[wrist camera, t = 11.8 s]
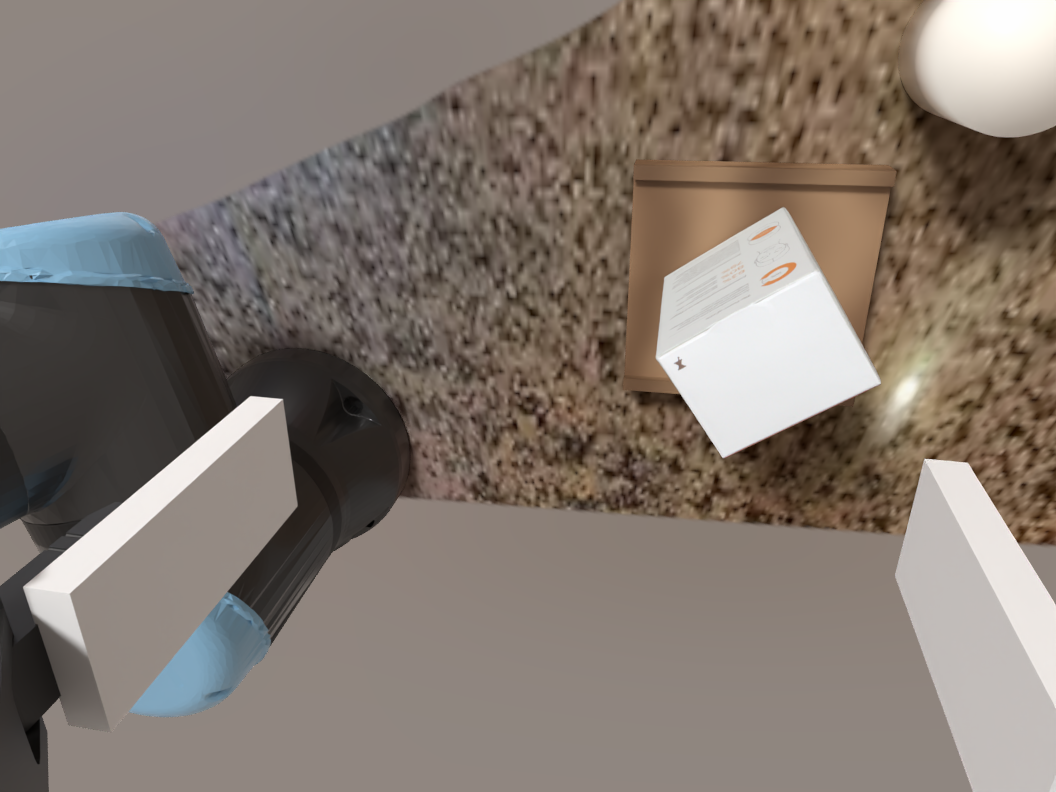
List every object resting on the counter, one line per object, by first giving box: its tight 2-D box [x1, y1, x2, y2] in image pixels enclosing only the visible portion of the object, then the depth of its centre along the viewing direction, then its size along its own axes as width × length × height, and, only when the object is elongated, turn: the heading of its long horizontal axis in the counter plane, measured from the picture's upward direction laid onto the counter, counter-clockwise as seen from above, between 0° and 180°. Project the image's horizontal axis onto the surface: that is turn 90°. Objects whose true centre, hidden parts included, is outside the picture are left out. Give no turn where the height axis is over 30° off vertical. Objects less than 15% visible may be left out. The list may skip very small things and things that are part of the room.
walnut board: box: [623, 160, 897, 406], centre depth 48 cm, size 14×14×2 cm
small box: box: [656, 207, 881, 458], centre depth 41 cm, size 8×6×13 cm
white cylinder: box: [898, 0, 1056, 138], centre depth 37 cm, size 7×9×8 cm
